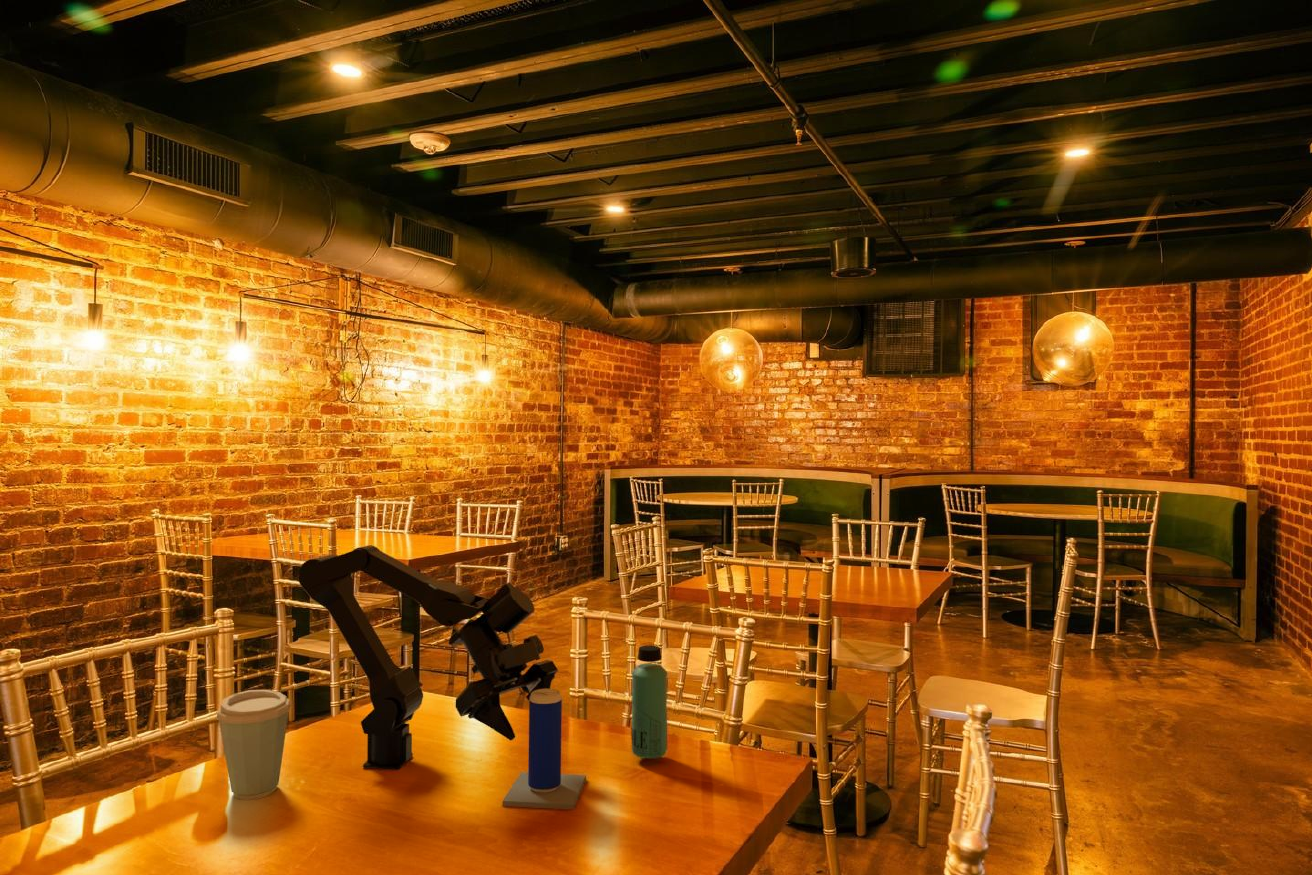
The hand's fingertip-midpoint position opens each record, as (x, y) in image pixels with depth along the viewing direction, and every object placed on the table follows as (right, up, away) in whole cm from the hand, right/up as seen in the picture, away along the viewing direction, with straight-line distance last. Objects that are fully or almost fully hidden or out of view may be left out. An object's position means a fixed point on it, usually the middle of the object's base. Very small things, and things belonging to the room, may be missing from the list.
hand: (533, 730), depth 131 cm
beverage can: (+2, -9, -1) cm, 9 cm away
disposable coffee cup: (-44, -9, -2) cm, 45 cm away
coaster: (+2, -9, -1) cm, 10 cm away
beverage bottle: (+18, -10, +12) cm, 24 cm away
